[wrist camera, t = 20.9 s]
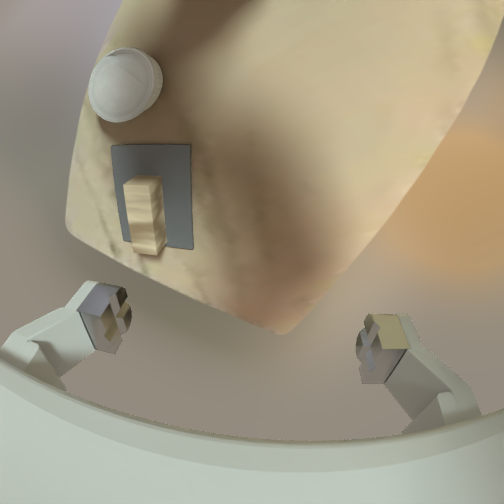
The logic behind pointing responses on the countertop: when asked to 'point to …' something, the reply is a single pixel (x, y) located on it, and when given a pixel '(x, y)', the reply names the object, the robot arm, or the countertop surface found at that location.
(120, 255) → the countertop surface
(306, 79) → the countertop surface
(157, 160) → the rubber mat
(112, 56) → the ramekin
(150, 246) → the maple block
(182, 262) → the countertop surface
